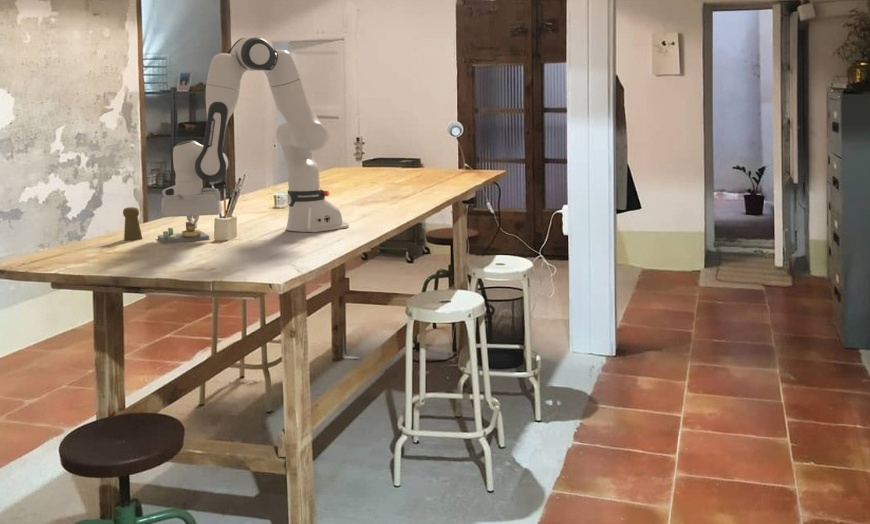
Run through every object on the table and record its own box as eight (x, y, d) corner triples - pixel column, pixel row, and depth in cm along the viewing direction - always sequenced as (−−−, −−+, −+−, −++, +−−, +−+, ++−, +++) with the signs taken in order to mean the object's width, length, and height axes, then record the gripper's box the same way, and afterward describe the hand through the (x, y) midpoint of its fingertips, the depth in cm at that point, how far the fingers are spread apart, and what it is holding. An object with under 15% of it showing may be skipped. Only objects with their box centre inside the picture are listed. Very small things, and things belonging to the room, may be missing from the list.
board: (201, 234, 314) (200, 224, 313) (209, 239, 304) (208, 228, 303) (157, 238, 307) (157, 228, 306) (164, 243, 297) (163, 232, 297)
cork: (136, 237, 311) (133, 205, 309) (146, 238, 307) (143, 207, 305) (120, 239, 307) (117, 207, 304) (130, 241, 303) (127, 209, 301)
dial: (201, 236, 302) (201, 225, 301) (183, 237, 299) (182, 226, 299) (197, 231, 311) (196, 221, 310) (179, 233, 308) (178, 222, 308)
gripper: (222, 186, 307) (226, 225, 310) (163, 188, 308) (168, 228, 311) (216, 188, 301) (220, 229, 304) (157, 191, 302) (162, 231, 305)
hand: (193, 228), depth 307 cm, fingers closed, pressing on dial
